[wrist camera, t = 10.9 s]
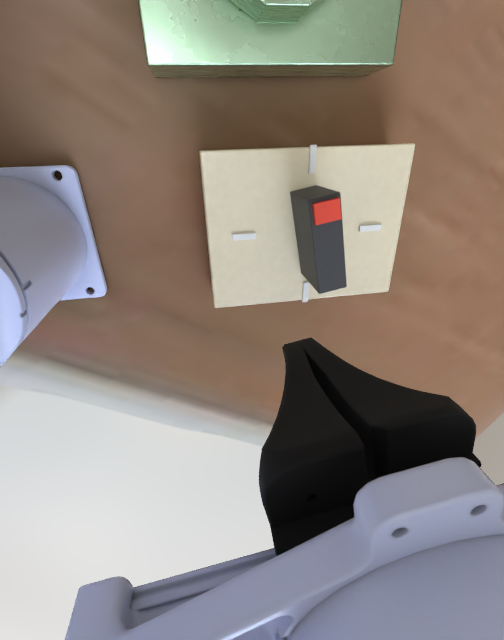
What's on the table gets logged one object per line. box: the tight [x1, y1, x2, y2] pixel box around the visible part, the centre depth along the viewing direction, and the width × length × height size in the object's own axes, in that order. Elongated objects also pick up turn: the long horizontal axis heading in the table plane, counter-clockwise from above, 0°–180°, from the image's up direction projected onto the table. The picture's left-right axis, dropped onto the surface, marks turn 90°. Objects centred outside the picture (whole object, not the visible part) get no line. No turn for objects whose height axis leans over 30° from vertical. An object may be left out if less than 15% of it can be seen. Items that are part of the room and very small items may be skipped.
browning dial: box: [290, 185, 347, 294], centre depth 18 cm, size 5×2×4 cm, turn 12°
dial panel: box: [199, 143, 415, 308], centre depth 21 cm, size 12×9×3 cm
